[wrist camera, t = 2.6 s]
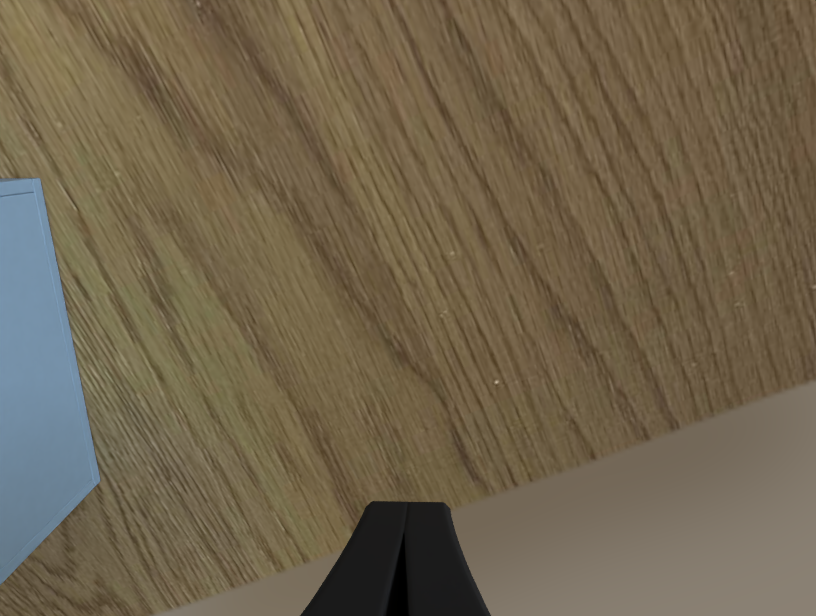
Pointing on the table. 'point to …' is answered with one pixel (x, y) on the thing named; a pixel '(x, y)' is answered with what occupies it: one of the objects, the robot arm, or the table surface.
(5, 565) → the carton
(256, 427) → the table surface
